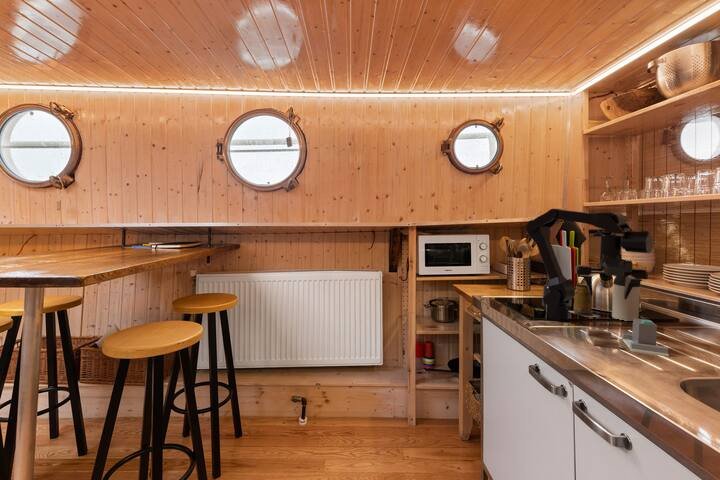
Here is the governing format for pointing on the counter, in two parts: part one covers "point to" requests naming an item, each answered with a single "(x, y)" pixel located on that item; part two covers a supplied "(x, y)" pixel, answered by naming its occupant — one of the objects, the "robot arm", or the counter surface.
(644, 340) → the plug
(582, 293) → the condiment
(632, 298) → the travel mug
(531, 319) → the counter surface
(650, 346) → the cradle
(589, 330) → the walnut dock
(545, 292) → the supplement bottle
